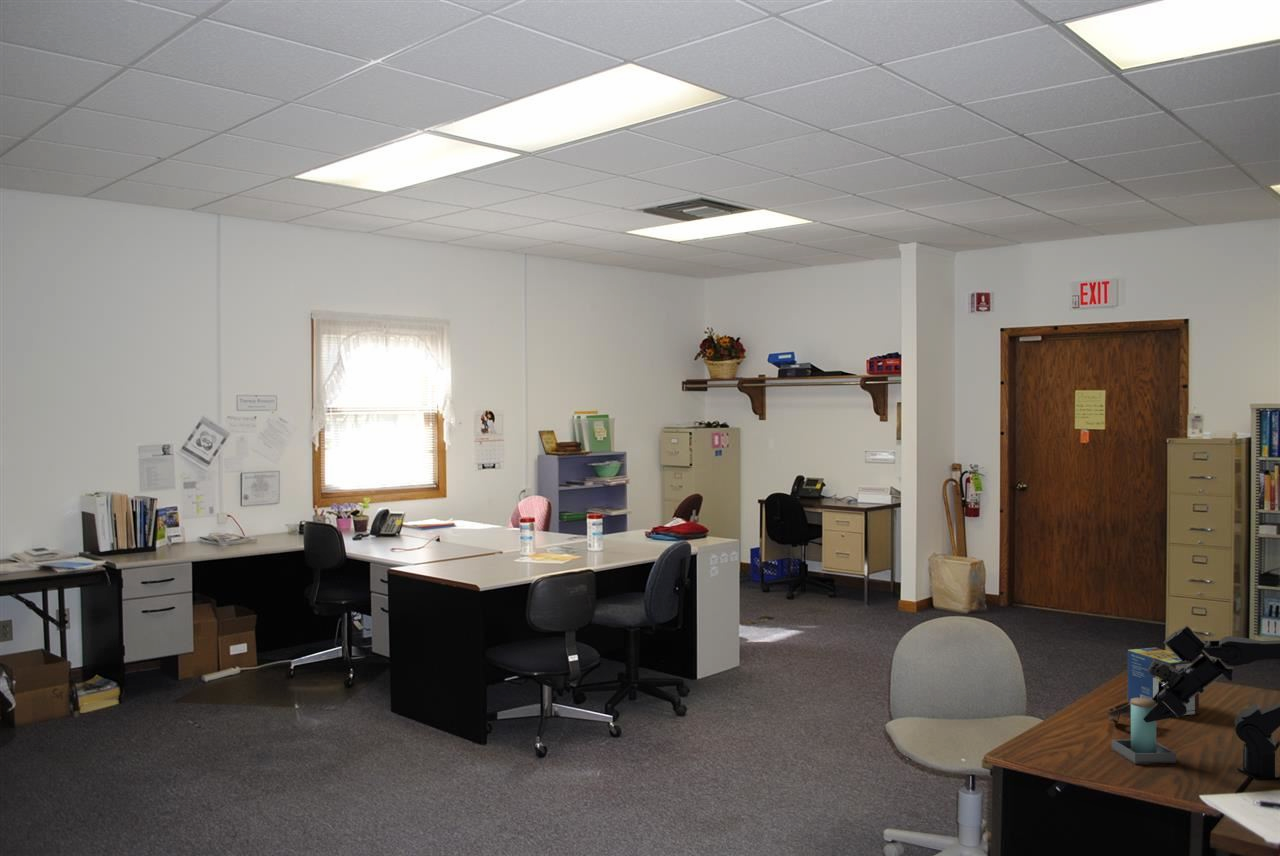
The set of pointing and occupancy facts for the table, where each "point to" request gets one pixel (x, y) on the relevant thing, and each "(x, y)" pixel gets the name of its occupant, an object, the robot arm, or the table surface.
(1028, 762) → the table surface
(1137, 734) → the canister
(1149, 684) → the protein box
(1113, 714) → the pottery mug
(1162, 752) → the tray
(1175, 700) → the robot arm
